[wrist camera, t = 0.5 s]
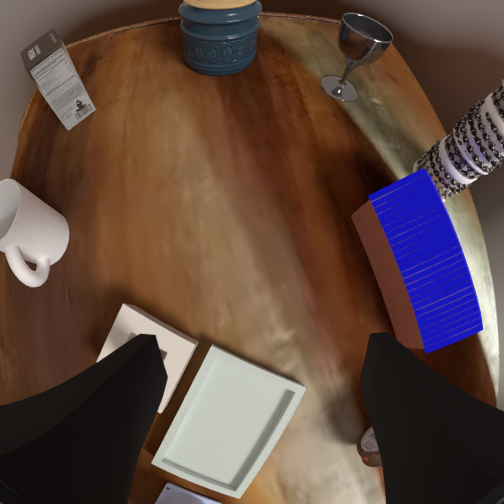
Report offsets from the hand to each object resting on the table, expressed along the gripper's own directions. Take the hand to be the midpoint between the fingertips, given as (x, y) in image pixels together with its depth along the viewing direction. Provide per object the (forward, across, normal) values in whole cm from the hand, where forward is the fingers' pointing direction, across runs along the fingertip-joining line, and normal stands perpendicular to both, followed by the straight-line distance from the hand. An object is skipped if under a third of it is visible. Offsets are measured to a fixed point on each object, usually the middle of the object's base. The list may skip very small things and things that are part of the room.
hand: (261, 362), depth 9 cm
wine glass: (+44, -13, -19) cm, 50 cm away
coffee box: (+35, +33, -20) cm, 52 cm away
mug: (+21, +31, +3) cm, 37 cm away
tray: (+14, +6, +23) cm, 27 cm away
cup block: (+17, +15, +15) cm, 27 cm away
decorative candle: (+37, -27, -3) cm, 46 cm away
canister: (+44, +8, -26) cm, 52 cm away
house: (+28, -19, +9) cm, 35 cm away
